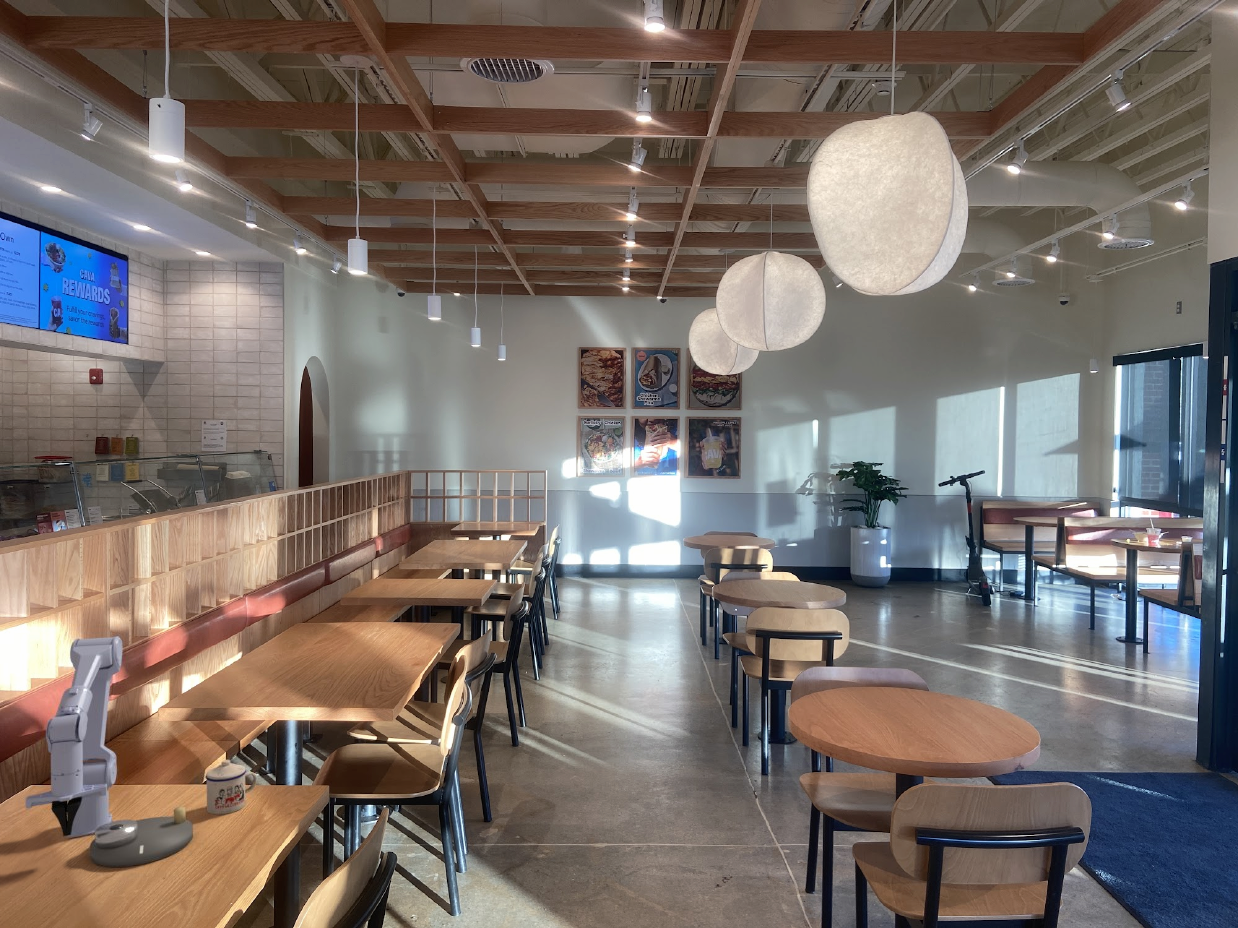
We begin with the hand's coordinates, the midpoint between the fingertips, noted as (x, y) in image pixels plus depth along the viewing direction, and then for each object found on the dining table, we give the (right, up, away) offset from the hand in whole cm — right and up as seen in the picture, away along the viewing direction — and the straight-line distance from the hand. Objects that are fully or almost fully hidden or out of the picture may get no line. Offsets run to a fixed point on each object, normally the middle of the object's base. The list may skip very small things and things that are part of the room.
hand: (67, 833), depth 179 cm
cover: (+8, -4, +4) cm, 10 cm away
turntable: (+12, -6, +7) cm, 15 cm away
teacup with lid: (+22, -6, +28) cm, 36 cm away
